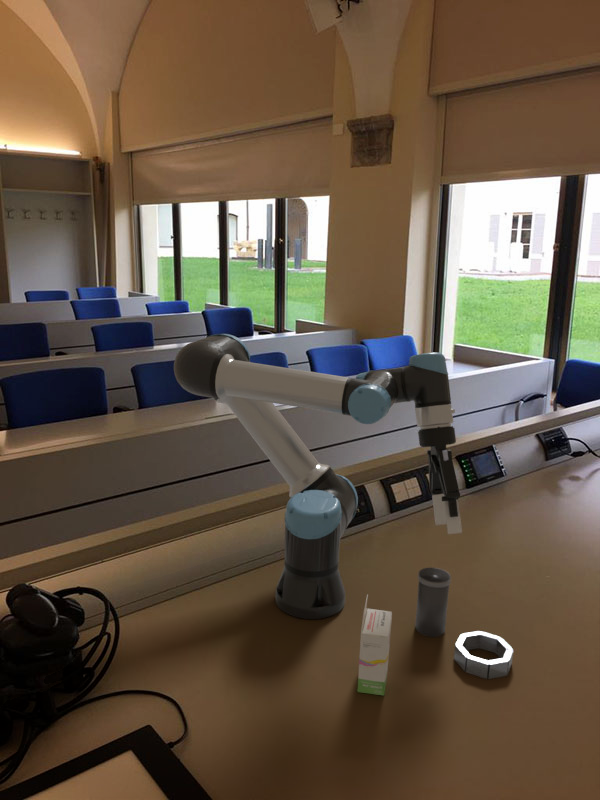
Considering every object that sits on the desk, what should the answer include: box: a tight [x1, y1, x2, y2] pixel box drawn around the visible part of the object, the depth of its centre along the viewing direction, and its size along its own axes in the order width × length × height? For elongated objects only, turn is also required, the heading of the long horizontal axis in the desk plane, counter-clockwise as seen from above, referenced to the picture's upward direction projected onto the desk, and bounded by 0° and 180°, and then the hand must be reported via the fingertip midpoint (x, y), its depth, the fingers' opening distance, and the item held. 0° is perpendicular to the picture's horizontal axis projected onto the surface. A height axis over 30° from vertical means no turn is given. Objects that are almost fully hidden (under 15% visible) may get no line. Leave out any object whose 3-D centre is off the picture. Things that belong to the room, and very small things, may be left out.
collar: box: [453, 630, 514, 680], centre depth 127 cm, size 10×10×3 cm
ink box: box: [357, 594, 393, 696], centre depth 120 cm, size 9×5×15 cm, turn 168°
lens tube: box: [414, 567, 452, 638], centre depth 136 cm, size 6×6×12 cm
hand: (448, 528), depth 140 cm, fingers open, 13 cm apart
